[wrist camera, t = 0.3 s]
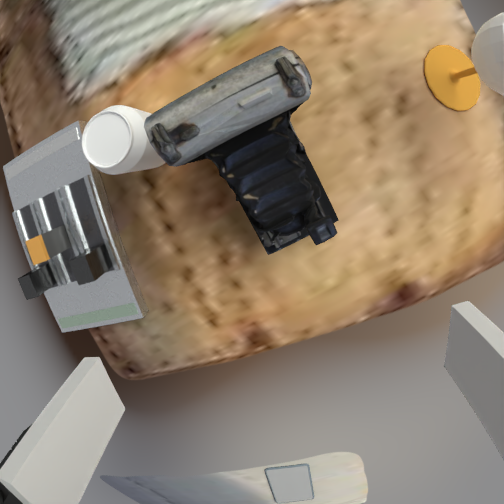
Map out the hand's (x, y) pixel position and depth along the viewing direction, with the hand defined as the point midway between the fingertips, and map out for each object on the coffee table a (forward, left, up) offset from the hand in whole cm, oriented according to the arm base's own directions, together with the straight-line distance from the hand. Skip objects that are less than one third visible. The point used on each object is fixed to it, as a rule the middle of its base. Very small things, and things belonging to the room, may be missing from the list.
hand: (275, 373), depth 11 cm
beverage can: (-12, -11, -28) cm, 32 cm away
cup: (-12, +27, -28) cm, 41 cm away
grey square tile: (+52, -9, -28) cm, 60 cm away
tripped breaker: (-5, -26, -25) cm, 37 cm away
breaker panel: (-5, -26, -27) cm, 38 cm away
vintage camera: (-5, +1, -28) cm, 28 cm away
